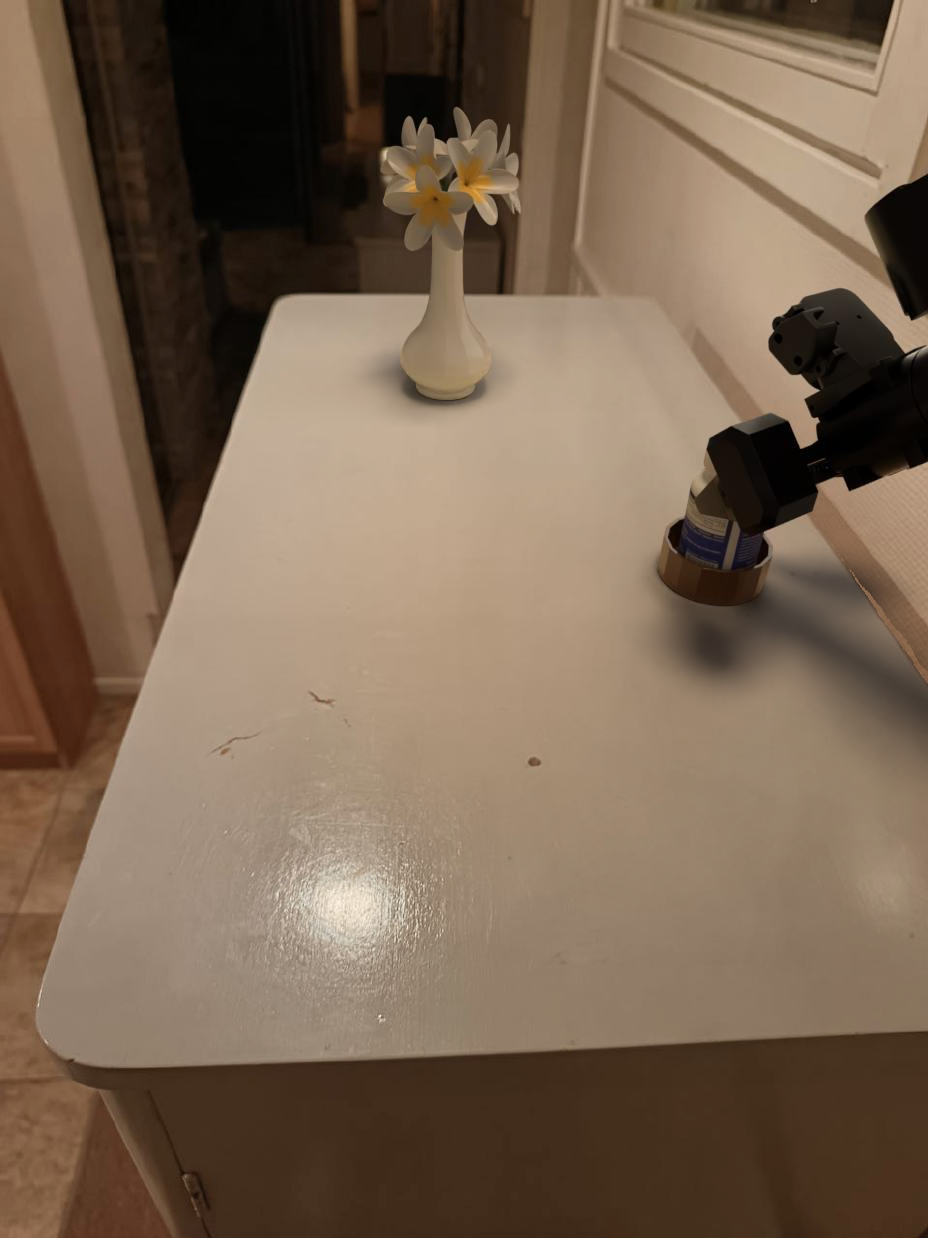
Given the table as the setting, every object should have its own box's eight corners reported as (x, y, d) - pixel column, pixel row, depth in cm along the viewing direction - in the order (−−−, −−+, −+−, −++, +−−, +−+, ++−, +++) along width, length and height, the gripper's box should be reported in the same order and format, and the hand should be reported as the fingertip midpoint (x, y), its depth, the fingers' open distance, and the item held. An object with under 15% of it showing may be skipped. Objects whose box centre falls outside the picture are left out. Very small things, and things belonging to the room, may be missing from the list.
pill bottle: (739, 548, 69) (769, 432, 63) (761, 592, 64) (797, 471, 58) (666, 549, 68) (690, 432, 62) (684, 593, 64) (712, 471, 58)
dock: (765, 556, 69) (774, 524, 67) (760, 614, 63) (770, 580, 61) (665, 538, 71) (671, 506, 69) (651, 593, 65) (658, 559, 63)
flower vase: (381, 430, 84) (371, 137, 69) (391, 355, 99) (384, 99, 83) (516, 432, 85) (537, 141, 69) (506, 357, 99) (521, 103, 83)
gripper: (985, 233, 52) (788, 355, 65) (773, 284, 43) (598, 411, 57) (1060, 408, 51) (846, 492, 65) (862, 494, 43) (664, 570, 57)
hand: (744, 487), depth 61 cm, fingers open, 9 cm apart
